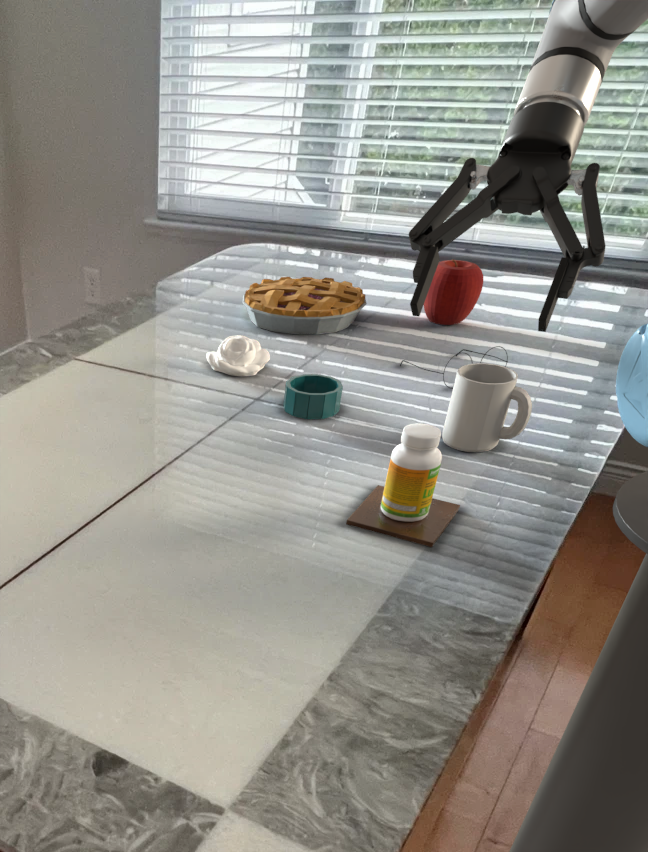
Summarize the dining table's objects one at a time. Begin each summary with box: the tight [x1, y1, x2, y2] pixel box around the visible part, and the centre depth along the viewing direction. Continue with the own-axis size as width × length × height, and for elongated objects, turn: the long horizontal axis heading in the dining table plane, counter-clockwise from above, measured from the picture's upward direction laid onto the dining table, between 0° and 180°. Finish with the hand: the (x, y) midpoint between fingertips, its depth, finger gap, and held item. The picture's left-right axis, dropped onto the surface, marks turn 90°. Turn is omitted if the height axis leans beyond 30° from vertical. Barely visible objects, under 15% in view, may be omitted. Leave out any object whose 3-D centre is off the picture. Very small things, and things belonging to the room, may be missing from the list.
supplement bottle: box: [381, 422, 443, 522], centre depth 94 cm, size 5×5×10 cm
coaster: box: [345, 484, 461, 548], centre depth 97 cm, size 10×10×1 cm
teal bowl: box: [282, 373, 344, 420], centre depth 120 cm, size 8×8×4 cm
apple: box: [423, 258, 484, 326], centre depth 144 cm, size 10×10×10 cm
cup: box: [441, 362, 533, 453], centre depth 108 cm, size 7×10×9 cm
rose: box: [206, 334, 271, 377], centre depth 133 cm, size 10×4×10 cm
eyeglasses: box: [399, 345, 509, 390], centre depth 128 cm, size 11×13×5 cm
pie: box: [242, 276, 367, 335], centre depth 150 cm, size 22×22×5 cm
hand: (476, 318), depth 92 cm, fingers open, 13 cm apart
